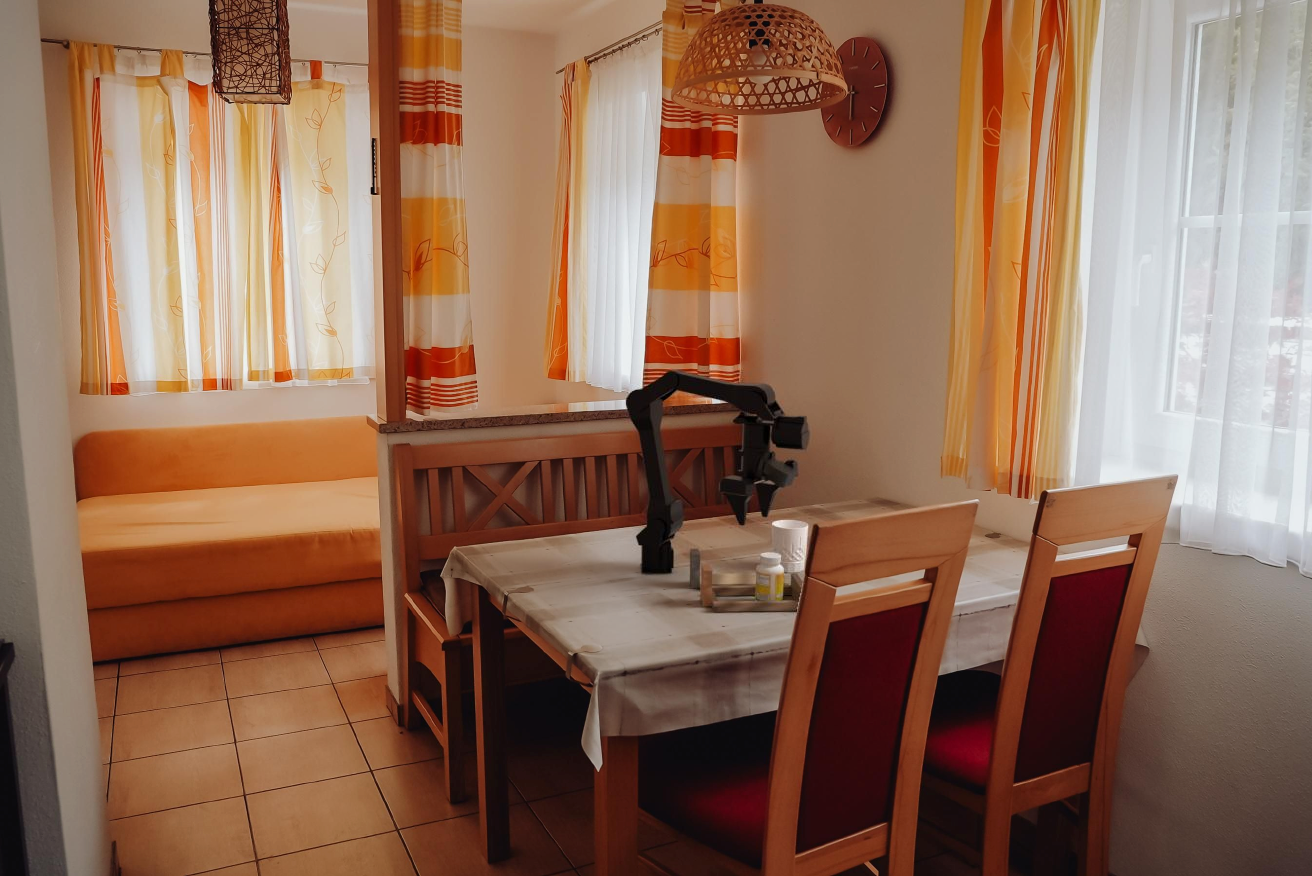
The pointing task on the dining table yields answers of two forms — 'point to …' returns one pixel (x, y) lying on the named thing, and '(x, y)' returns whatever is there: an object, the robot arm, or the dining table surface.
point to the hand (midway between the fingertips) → (753, 521)
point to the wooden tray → (719, 606)
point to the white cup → (790, 544)
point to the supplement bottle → (769, 578)
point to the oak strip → (719, 575)
